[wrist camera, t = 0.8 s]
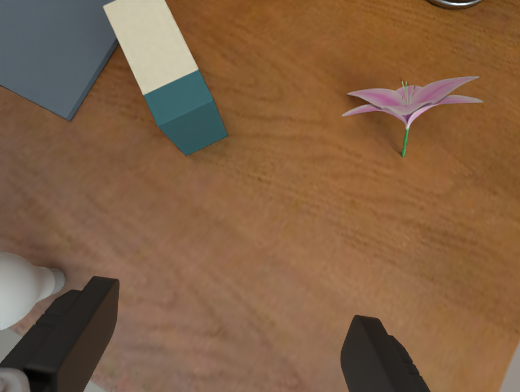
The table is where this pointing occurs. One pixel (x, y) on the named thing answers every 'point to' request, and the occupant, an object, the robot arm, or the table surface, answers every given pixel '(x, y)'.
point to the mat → (54, 50)
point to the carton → (166, 73)
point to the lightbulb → (24, 287)
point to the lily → (411, 100)
